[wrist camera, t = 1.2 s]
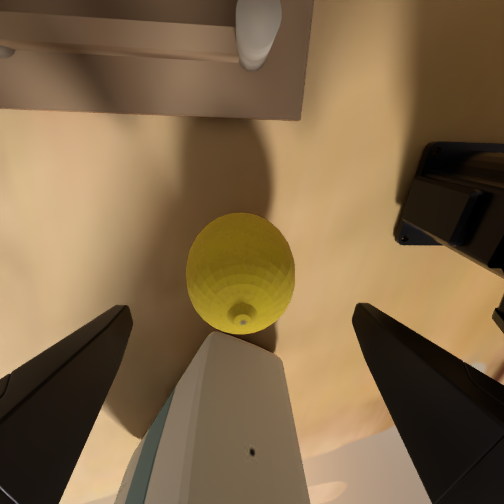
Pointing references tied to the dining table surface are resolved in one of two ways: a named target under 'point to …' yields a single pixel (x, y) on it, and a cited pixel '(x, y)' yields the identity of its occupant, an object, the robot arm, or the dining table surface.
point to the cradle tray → (156, 57)
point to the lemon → (240, 273)
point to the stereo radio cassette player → (221, 434)
